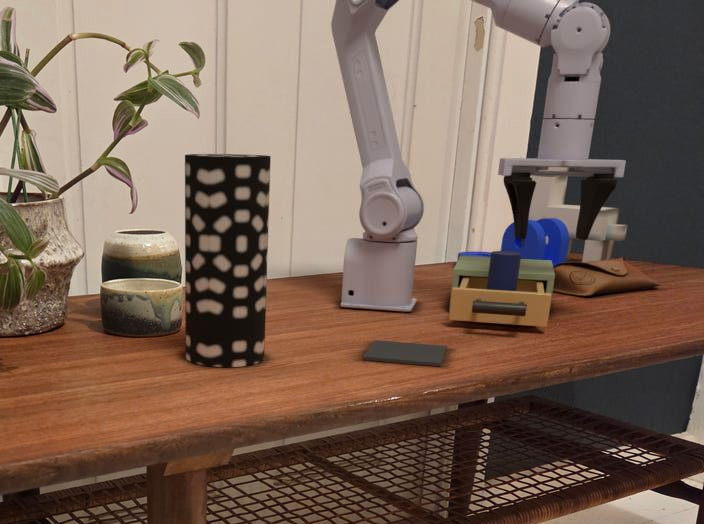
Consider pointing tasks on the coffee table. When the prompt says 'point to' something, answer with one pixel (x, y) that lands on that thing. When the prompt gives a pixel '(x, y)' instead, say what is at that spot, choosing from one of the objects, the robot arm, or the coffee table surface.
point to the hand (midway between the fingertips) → (550, 238)
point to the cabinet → (526, 271)
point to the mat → (406, 353)
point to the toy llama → (575, 216)
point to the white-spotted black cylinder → (226, 258)
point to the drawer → (500, 303)
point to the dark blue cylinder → (503, 270)
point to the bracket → (535, 241)
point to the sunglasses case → (599, 278)
